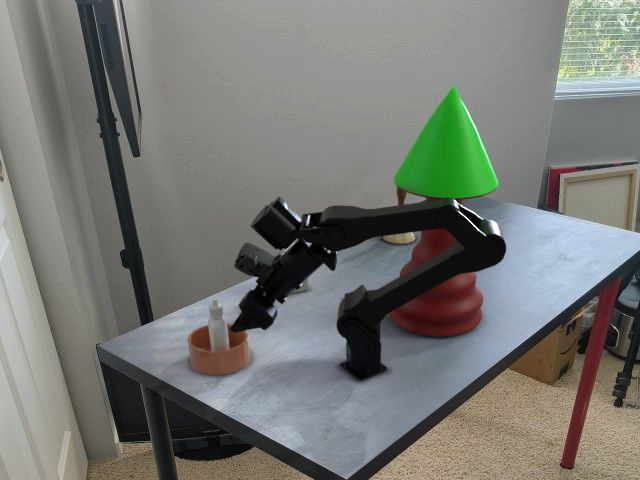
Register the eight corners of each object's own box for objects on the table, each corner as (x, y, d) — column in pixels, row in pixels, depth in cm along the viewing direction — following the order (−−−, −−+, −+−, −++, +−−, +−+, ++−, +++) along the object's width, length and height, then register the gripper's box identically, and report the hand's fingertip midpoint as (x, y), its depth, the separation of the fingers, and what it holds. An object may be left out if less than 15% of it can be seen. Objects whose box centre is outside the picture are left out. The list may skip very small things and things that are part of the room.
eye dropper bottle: (204, 362, 135) (196, 304, 128) (216, 347, 140) (210, 291, 133) (225, 366, 134) (219, 308, 127) (237, 351, 139) (232, 294, 132)
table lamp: (488, 301, 158) (517, 78, 132) (473, 345, 143) (502, 102, 116) (401, 289, 163) (412, 71, 137) (376, 329, 147) (383, 92, 121)
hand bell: (421, 238, 187) (426, 176, 178) (399, 247, 182) (402, 183, 173) (398, 229, 192) (401, 168, 182) (376, 237, 187) (378, 175, 178)
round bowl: (260, 362, 137) (259, 340, 134) (207, 381, 131) (205, 359, 128) (232, 339, 144) (229, 317, 141) (180, 356, 138) (177, 334, 136)
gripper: (274, 212, 129) (220, 266, 137) (246, 254, 114) (187, 312, 122) (318, 256, 133) (263, 306, 140) (297, 302, 117) (237, 356, 125)
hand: (239, 318), depth 132 cm, fingers open, 9 cm apart
